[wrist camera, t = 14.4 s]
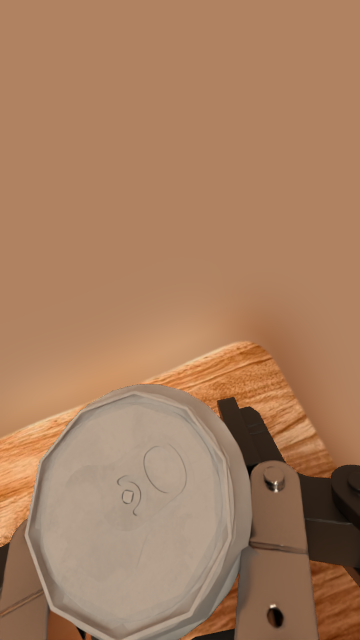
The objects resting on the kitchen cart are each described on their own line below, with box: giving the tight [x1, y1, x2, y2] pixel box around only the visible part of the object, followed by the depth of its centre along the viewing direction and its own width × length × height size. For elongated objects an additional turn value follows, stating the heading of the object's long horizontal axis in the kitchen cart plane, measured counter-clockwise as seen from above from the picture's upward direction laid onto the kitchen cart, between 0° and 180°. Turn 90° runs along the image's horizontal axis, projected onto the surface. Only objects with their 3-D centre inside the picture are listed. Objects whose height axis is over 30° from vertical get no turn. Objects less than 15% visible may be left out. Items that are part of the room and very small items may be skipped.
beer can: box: [25, 384, 252, 640], centre depth 11 cm, size 5×5×12 cm
